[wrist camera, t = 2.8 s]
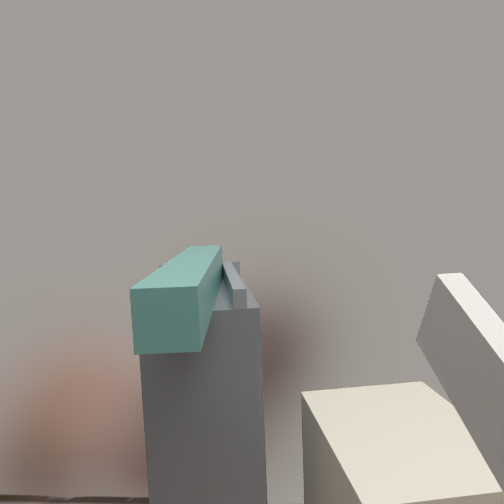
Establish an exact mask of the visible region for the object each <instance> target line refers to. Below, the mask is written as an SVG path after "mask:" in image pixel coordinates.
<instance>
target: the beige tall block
mask: <svg viewBox="0 0 504 504" xmlns="http://www.w3.org/2000/svg"><path fill="white" fill-rule="evenodd" d="M301 403H302V438H303V470H304V471H303V473H304V504H504V493H503V491H502V489H501V488H500V486H499V484H498V482H497V481H496V479H495V477H494V475H493V474H492V472H491V470H490V468H489V467H488V465H487V463H486V461H485V460H484V458H483V456H482V454H481V453H480V451H479V449H478V447H477V446H476V444H475V442H474V441H473V439H472V437H471V435H470V434H469V432H468V430H467V428H466V427H465V425H464V423H463V421H462V420H461V418H460V416H459V414H458V413H457V411H456V409H455V407H454V406H453V405H452V404H450V403H449V402H448V401H446V400H445V399H444V398H443V397H441V396H440V395H439V394H437V393H436V392H435V391H433V390H432V389H431V388H430V387H428V386H427V385H426V384H424V383H423V382H422V381H421V382H411V383H399V384H387V385H375V386H366V387H365V386H364V387H353V388H341V389H331V390H319V391H307V392H301Z"/></svg>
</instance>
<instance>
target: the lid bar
mask: <svg viewBox="0 0 504 504" xmlns="http://www.w3.org/2000/svg"><path fill="white" fill-rule="evenodd" d="M222 278H223V267H222V246H221V245H214V246H192V247H188V248H187V249H186V250H184V251H183V252H182V253H180V254H179V255H177V256H176V257H174V258H173V259H171V260H170V261H169V262H167V263H166V264H164V265H163V266H162V267H160V268H159V269H157V270H156V271H155V272H153V273H152V274H151V275H149V276H147V277H146V278H145V279H143V280H142V281H140V282H139V283H138V284H136V285H135V286H133V287H132V288H130V299H131V315H132V329H133V342H134V355H138V354H160V353H182V352H201V350H202V346H203V343H204V339H205V336H206V333H207V329H208V326H209V322H210V319H211V316H212V312H213V309H214V305H215V302H216V298H217V295H218V292H219V288H220V285H221V281H222Z"/></svg>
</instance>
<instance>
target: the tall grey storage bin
mask: <svg viewBox="0 0 504 504" xmlns="http://www.w3.org/2000/svg"><path fill="white" fill-rule="evenodd" d="M163 265H164V264H161V265H159V268H160V267H162V266H163ZM222 267H223V278H222V281H221V285H220V288H219V292H218V295H217V298H216V302H215V305H214V309H213V312H212V316H211V319H210V322H209V326H208V329H207V333H206V336H205V339H204V343H203V346H202V350H201V352H182V353H160V354H139V355H140V371H141V386H142V401H143V415H144V430H145V444H146V459H147V474H148V488H149V504H267V484H266V458H265V432H264V431H265V430H264V405H263V380H262V379H263V378H262V352H261V329H260V327H261V326H260V307H259V306H258V304H257V302H256V301H255V299H254V297H253V296H252V294H251V292H250V291H249V289H248V287H247V286H246V284H245V282H244V280H243V279H242V277H241V275H240V263H239V260H237V261H222Z"/></svg>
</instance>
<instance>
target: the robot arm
mask: <svg viewBox="0 0 504 504" xmlns="http://www.w3.org/2000/svg"><path fill="white" fill-rule="evenodd" d="M416 341H417V343H418V345H419V346H420V348H421V350H422V352H423V353H424V355H425V357H426V359H427V360H428V362H429V364H430V366H431V367H432V369H433V371H434V373H435V374H436V376H437V378H438V380H439V381H440V383H441V385H442V386H443V388H444V390H445V392H446V394H447V395H448V397H449V399H450V400H451V402H452V404H453V406H454V407H455V409H456V411H457V413H458V414H459V416H460V418H461V420H462V421H463V423H464V425H465V427H466V428H467V430H468V432H469V434H470V435H471V437H472V439H473V441H474V442H475V444H476V446H477V447H478V449H479V451H480V453H481V454H482V456H483V458H484V460H485V461H486V463H487V465H488V467H489V468H490V470H491V472H492V474H493V475H494V477H495V479H496V481H497V482H498V484H499V486H500V488H501V489H502V491H503V493H504V323H503V322H502V320H501V319H500V318H499V317H498V316H497V314H496V313H495V312H494V311H493V310H492V308H491V307H490V306H489V305H488V304H487V302H486V301H485V300H484V299H483V298H482V297H481V295H480V294H479V293H478V292H477V291H476V289H475V288H474V287H473V286H472V284H471V283H470V282H469V281H468V280H467V278H466V277H465V276H464V275H463V274H462V273H451V274H437V276H436V279H435V282H434V285H433V288H432V292H431V295H430V298H429V301H428V304H427V307H426V310H425V313H424V317H423V320H422V323H421V326H420V329H419V332H418V335H417V338H416Z"/></svg>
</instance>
